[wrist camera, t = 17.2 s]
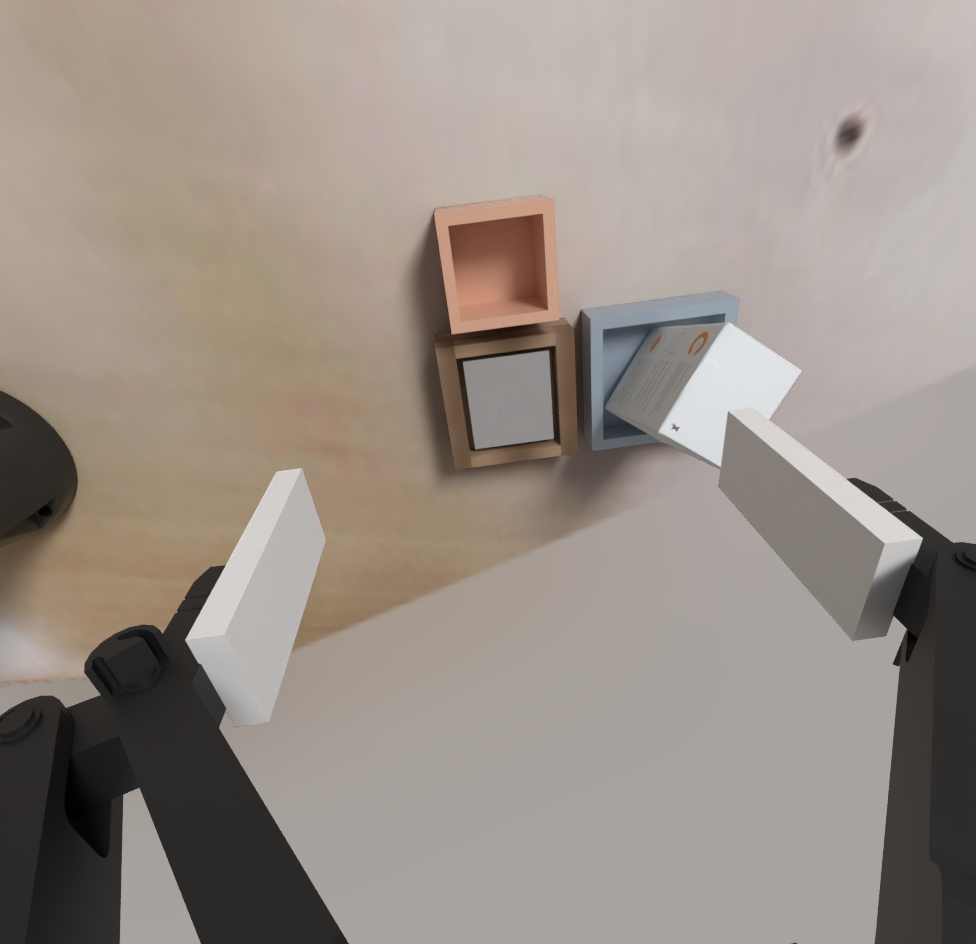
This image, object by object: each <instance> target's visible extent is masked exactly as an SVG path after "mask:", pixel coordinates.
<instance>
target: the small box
mask: <svg viewBox="0 0 976 944" xmlns="http://www.w3.org/2000/svg"><path fill="white" fill-rule="evenodd" d="M801 373H802V370H800V369H799V368H797V367H796V366H794V365H793V364H791V363H790V362H788V361H787V360H785V359H784V358H782V357H781V356H779V355H778V354H776V353H775V352H773V351H772V350H770V349H769V348H767V347H766V346H764V345H763V344H761V343H760V342H758V341H757V340H755V339H754V338H752V337H751V336H749V335H748V334H746V333H745V332H743V331H742V330H740V329H739V328H737V327H736V326H734V325H733V324H731V323H729V322H725V323H715V324H700V325H687V326H671V327H659V328H652V329H651V331H650V332H649V334H648V335H647V337H646V339H645V340H644V342H643V344H642V345H641V347H640V349H639V350H638V352H637V354H636V355H635V357H634V359H633V360H632V362H631V364H630V365H629V367H628V369H627V370H626V372H625V374H624V375H623V377H622V379H621V380H620V382H619V384H618V385H617V387H616V389H615V390H614V392H613V394H612V395H611V397H610V399H609V401H608V402H607V404H606V406H605V409H606V410H608V411H609V412H611V413H613V414H615V415H616V416H618V417H620V418H621V419H623V420H625V421H626V422H628V423H630V424H632V425H633V426H635V427H637V428H638V429H640V430H642V431H644V432H645V433H647V434H649V435H650V436H652V437H654V438H656V439H657V440H659V441H661V442H663V443H665V444H667V445H669V446H671V447H673V448H675V449H677V450H679V451H682V452H684V453H686V454H688V455H690V456H693V457H695V458H697V459H699V460H701V461H703V462H705V463H707V464H709V465H712V466H714V467H716V468H718V469H721V462H722V454H723V446H724V438H725V430H726V422H727V414H728V411H729V410H737V409H744V408H752V407H753V408H754V409H755V410H757V411H758V412H759V413H761V414H762V415H763V416H764V417H766V418H767V419H768V420H770V419H771V418H772V416H773V415H774V413H775V412H776V410H777V409H778V407H779V406H780V404H781V403H782V401H783V400H784V398H785V397H786V395H787V394H788V392H789V391H790V389H791V388H792V386H793V385H794V383H795V382H796V380H797V379H798V377H799V376H800V374H801Z"/></svg>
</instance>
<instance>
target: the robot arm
mask: <svg viewBox="0 0 976 944" xmlns="http://www.w3.org/2000/svg"><path fill="white" fill-rule="evenodd" d="M76 486H77V475H76V469H75V465H74V462H73V459H72V457H71V454H70V452H69V450H68V448H67V447H66V445H65V443H64V442H63V440H62V439H61V438H60V436H59V435H58V434H57V432H56V431H55V430H54V429H53V428H52V427H51V426H50V425H49V424H48V423H47V422H46V421H45V420H44V419H43V418H42V417H41V416H40V415H39V414H37V413H36V412H35V411H33V410H32V409H31V408H29V407H28V406H27V405H25V404H24V403H22V402H20V401H19V400H17V399H15V398H14V397H12V396H10V395H8V394H6V393H4V392H2V391H0V548H1V547H3V546H6V545H8V544H11V543H13V542H16V541H18V540H21V539H23V538H26V537H28V536H31V535H33V534H35V533H37V532H39V531H40V530H42V529H44V528H45V527H47V526H48V525H49V524H51V523H52V522H53V521H54V520H55V519H56V518H57V517H58V516H59V515H61V514H62V513H63V512H64V511H65V510H66V509H67V507H68V506H69V505H70V503H71V502H72V500H73V497H74V495H75V491H76ZM718 486H719V488H720V489H721V490H722V491H723V493H724V494H725V495H726V496H727V497H728V498H729V500H730V501H731V502H732V503H733V504H734V505H735V506H736V508H737V509H738V510H739V511H740V512H741V513H742V514H743V516H744V517H745V518H746V519H747V520H748V521H749V522H750V524H751V525H752V526H753V527H754V528H755V529H756V531H757V532H758V533H759V534H760V535H761V536H762V537H763V539H764V540H765V541H766V542H767V543H768V544H769V546H770V547H772V549H773V550H774V551H775V552H776V554H777V555H778V556H779V557H780V558H781V559H782V560H783V561H784V563H785V564H786V565H787V566H788V567H789V569H790V570H791V571H792V572H793V573H794V574H795V575H796V576H797V578H798V579H799V580H800V581H801V582H802V583H803V585H804V586H805V587H806V588H807V589H808V590H809V591H810V593H811V594H812V595H813V596H814V597H815V598H816V600H817V601H818V602H819V603H820V604H821V605H822V606H823V608H824V609H825V610H826V611H827V612H828V613H829V615H830V616H831V617H832V618H833V619H834V620H835V621H836V623H837V624H838V625H839V626H840V627H841V628H842V629H843V630H844V632H845V633H846V634H847V635H848V636H849V638H850V639H851V640H852V641H854V640H862V639H869V638H876V637H883V636H886V635H887V632H888V630H889V627H890V624H891V621H892V619H893V616H895V617H896V618H897V619H898V620H899V621H900V622H901V623H902V624H903V625H904V626H905V627H906V628H907V630H906V633H905V635H904V638H903V640H902V642H901V645H900V647H899V650H898V652H897V655H896V657H895V660H894V662H893V665H896V666H899V665H900V672H899V683H898V693H897V705H896V716H895V728H894V738H893V750H892V760H891V772H890V783H889V794H888V805H887V816H886V827H885V838H884V850H883V860H882V872H881V883H880V894H879V905H878V917H877V928H876V937H875V944H976V544H971V543H964V542H959V543H953V542H951V541H950V540H949V539H947V538H946V537H944V536H943V535H942V534H940V533H939V532H938V531H936V530H935V529H933V528H932V527H931V526H929V525H928V524H927V523H925V522H924V521H923V520H921V519H920V518H918V517H917V516H916V515H914V514H913V513H912V512H910V511H906V508H905V507H903V506H902V505H901V504H899V503H898V502H897V501H895V502H894V501H893V498H891V497H890V496H888V495H887V494H885V493H884V492H883V491H882V490H880V489H879V488H877V487H875V486H873V485H871V484H868V483H866V482H864V481H861V480H859V479H857V478H850V479H845V478H844V477H843V476H841V475H840V474H839V473H837V472H836V471H835V470H833V469H832V468H831V467H829V466H828V465H827V464H825V463H824V462H823V461H821V460H820V459H819V458H818V457H816V456H815V455H814V454H813V453H811V452H810V451H809V450H807V449H806V448H805V447H804V446H802V445H801V444H800V443H798V442H797V441H796V440H794V439H793V438H792V437H791V436H789V435H788V434H787V433H785V432H784V431H783V430H781V429H780V428H779V427H777V426H776V425H775V424H774V423H772V422H771V421H770V420H768V419H767V418H766V417H764V416H763V415H762V414H761V413H759V412H758V411H757V410H755V409H754V408H753V407H752V408H744V409H737V410H729V411H728V414H727V422H726V430H725V438H724V446H723V454H722V462H721V469H720V477H719V485H718ZM325 541H326V539H325V536H324V533H323V530H322V527H321V524H320V521H319V518H318V515H317V512H316V509H315V506H314V503H313V500H312V497H311V494H310V491H309V488H308V485H307V482H306V479H305V476H304V473H303V470H302V468H300V469H293V470H285V471H278V472H276V474H275V476H274V478H273V479H272V481H271V483H270V485H269V487H268V489H267V490H266V492H265V494H264V496H263V498H262V500H261V501H260V503H259V505H258V507H257V509H256V511H255V513H254V514H253V516H252V518H251V520H250V522H249V524H248V525H247V527H246V529H245V531H244V533H243V535H242V536H241V538H240V540H239V542H238V544H237V546H236V548H235V549H234V551H233V553H232V555H231V557H230V559H229V560H228V562H227V564H226V565H223V566H216V567H210V568H209V569H208V570H207V571H206V572H204V573H203V574H202V575H201V576H200V577H199V578H198V579H197V580H196V581H195V582H194V583H193V585H192V586H191V588H190V590H189V591H188V593H187V595H186V596H185V600H183V601H182V603H181V605H180V606H179V608H178V610H177V611H178V612H177V613H175V615H174V616H173V618H172V620H171V621H170V623H169V625H168V626H167V628H166V630H165V631H164V633H163V634H162V633H161V631H160V630H159V629H158V628H156V627H155V626H154V625H139V626H134V627H129V628H127V629H125V630H123V631H120V632H118V633H116V634H114V635H112V636H111V637H109V638H108V639H106V640H105V641H103V642H102V643H101V644H100V645H99V646H98V647H97V648H96V649H95V650H94V651H92V652H91V654H90V655H89V657H88V659H87V661H86V662H85V669H84V673H85V674H86V675H87V677H88V678H89V679H90V681H91V682H92V683H93V685H94V686H95V688H96V689H97V690H98V691H99V693H100V694H101V695H100V696H97V697H95V698H92V699H89V700H87V701H84V702H81V703H79V704H76V705H73V706H71V707H68V708H65V706H64V705H63V704H62V703H61V701H60V700H59V699H57V698H55V697H53V696H39V697H35V698H32V699H29V700H26V701H24V702H22V703H20V704H18V705H16V706H14V707H12V708H11V709H9V710H8V711H6V712H5V713H4V714H2V715H1V716H0V944H119V943H120V906H121V863H122V862H121V861H122V819H123V794H125V793H128V792H130V791H132V790H135V789H137V788H139V787H140V790H141V792H142V795H143V798H144V800H145V802H146V805H147V807H148V810H149V813H150V815H151V818H152V820H153V823H154V825H155V828H156V830H157V833H158V836H159V838H160V841H161V843H162V846H163V848H164V851H165V853H166V856H167V858H168V861H169V864H170V866H171V869H172V871H173V874H174V876H175V879H176V881H177V884H178V886H179V889H180V891H181V894H182V897H183V899H184V902H185V904H186V907H187V909H188V912H189V914H190V917H191V919H192V922H193V924H194V927H195V929H196V932H197V935H198V937H199V940H200V942H201V944H348V942H347V940H346V938H345V937H344V935H343V933H342V932H341V930H340V929H339V927H338V925H337V924H336V922H335V920H334V919H333V917H332V915H331V914H330V912H329V910H328V909H327V907H326V905H325V904H324V902H323V900H322V899H321V897H320V895H319V894H318V892H317V890H316V889H315V887H314V885H313V884H312V882H311V881H310V879H309V877H308V875H307V874H306V872H305V871H304V869H303V867H302V866H301V864H300V862H299V861H298V859H297V857H296V855H295V854H294V852H293V850H292V849H291V847H290V845H289V844H288V842H287V841H286V839H285V837H284V836H283V834H282V832H281V831H280V829H279V827H278V826H277V824H276V822H275V821H274V819H273V817H272V816H271V814H270V813H269V811H268V809H267V807H266V806H265V804H264V802H263V801H262V799H261V797H260V796H259V794H258V792H257V791H256V789H255V787H254V786H253V784H252V783H251V781H250V779H249V778H248V776H247V774H246V773H245V771H244V769H243V768H242V766H241V764H240V763H239V761H238V759H237V758H236V756H235V754H234V753H233V751H232V749H231V748H230V746H229V744H228V743H227V741H226V740H225V738H224V736H223V734H222V733H221V731H220V729H219V726H220V723H221V720H222V718H223V715H224V713H225V711H226V713H227V714H228V716H229V718H230V720H231V721H232V723H233V725H234V726H235V727H239V726H247V725H253V724H261V723H267V722H269V721H270V718H271V715H272V712H273V708H274V705H275V702H276V699H277V696H278V692H279V689H280V686H281V682H282V680H283V676H284V673H285V670H286V667H287V664H288V660H289V657H290V654H291V651H292V647H293V644H294V641H295V638H296V635H297V631H298V628H299V625H300V622H301V619H302V615H303V612H304V609H305V606H306V602H307V599H308V596H309V593H310V590H311V586H312V583H313V580H314V577H315V574H316V570H317V567H318V564H319V561H320V557H321V554H322V551H323V548H324V545H325ZM793 944H797V943H793Z"/></svg>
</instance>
